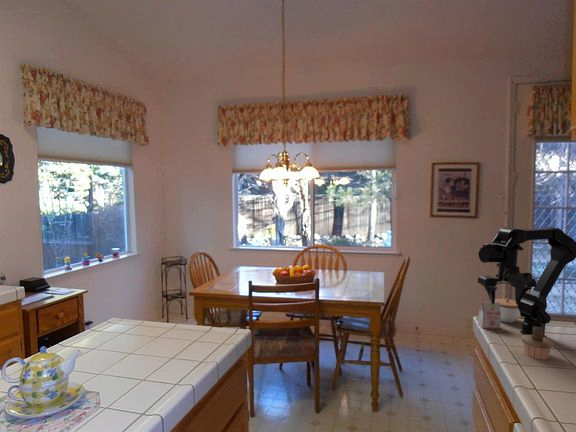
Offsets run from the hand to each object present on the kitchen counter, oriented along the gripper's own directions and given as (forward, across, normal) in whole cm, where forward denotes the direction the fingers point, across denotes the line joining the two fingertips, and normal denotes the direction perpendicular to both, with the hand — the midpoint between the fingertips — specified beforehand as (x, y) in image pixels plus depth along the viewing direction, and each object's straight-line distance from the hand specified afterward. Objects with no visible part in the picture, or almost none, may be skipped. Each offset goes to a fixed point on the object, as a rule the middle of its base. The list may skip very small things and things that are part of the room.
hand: (505, 304), depth 142 cm
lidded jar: (+13, +13, +19) cm, 26 cm away
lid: (+8, +2, -14) cm, 17 cm away
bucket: (+12, +2, -14) cm, 19 cm away
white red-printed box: (+13, +1, +11) cm, 17 cm away
